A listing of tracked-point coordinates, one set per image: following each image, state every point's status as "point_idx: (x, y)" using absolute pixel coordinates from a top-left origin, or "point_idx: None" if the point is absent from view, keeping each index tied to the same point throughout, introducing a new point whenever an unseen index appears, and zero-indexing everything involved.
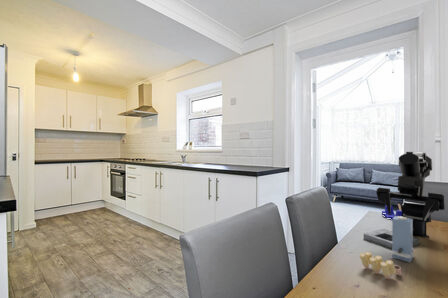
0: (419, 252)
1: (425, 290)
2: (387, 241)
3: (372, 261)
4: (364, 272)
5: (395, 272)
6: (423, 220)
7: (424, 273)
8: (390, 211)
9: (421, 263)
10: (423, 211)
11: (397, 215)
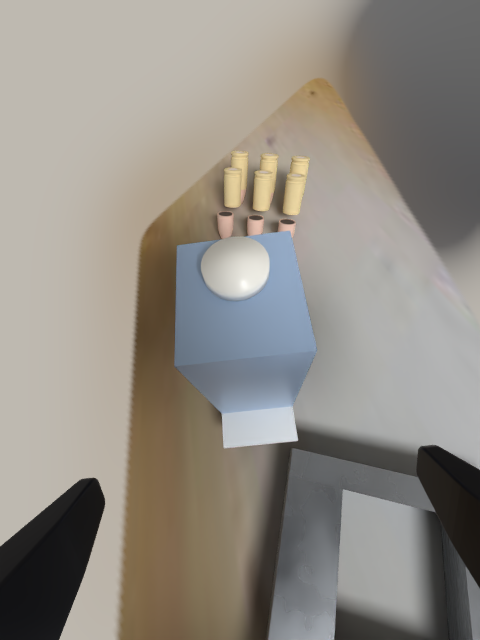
0: (216, 533)
1: (169, 217)
2: (352, 465)
3: (267, 153)
4: None
5: (224, 201)
6: (96, 493)
7: None
8: (450, 502)
9: None
10: None
11: None
